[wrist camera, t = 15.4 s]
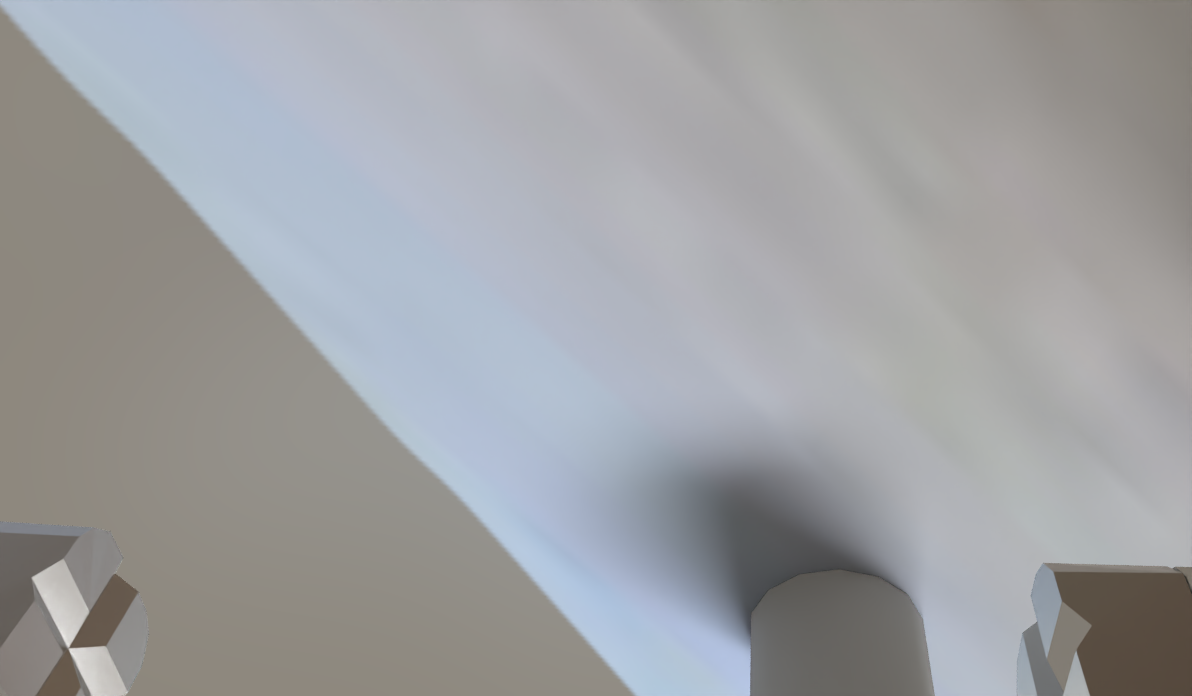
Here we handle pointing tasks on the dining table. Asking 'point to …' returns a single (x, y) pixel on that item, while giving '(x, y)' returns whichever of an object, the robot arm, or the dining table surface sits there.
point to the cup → (838, 639)
